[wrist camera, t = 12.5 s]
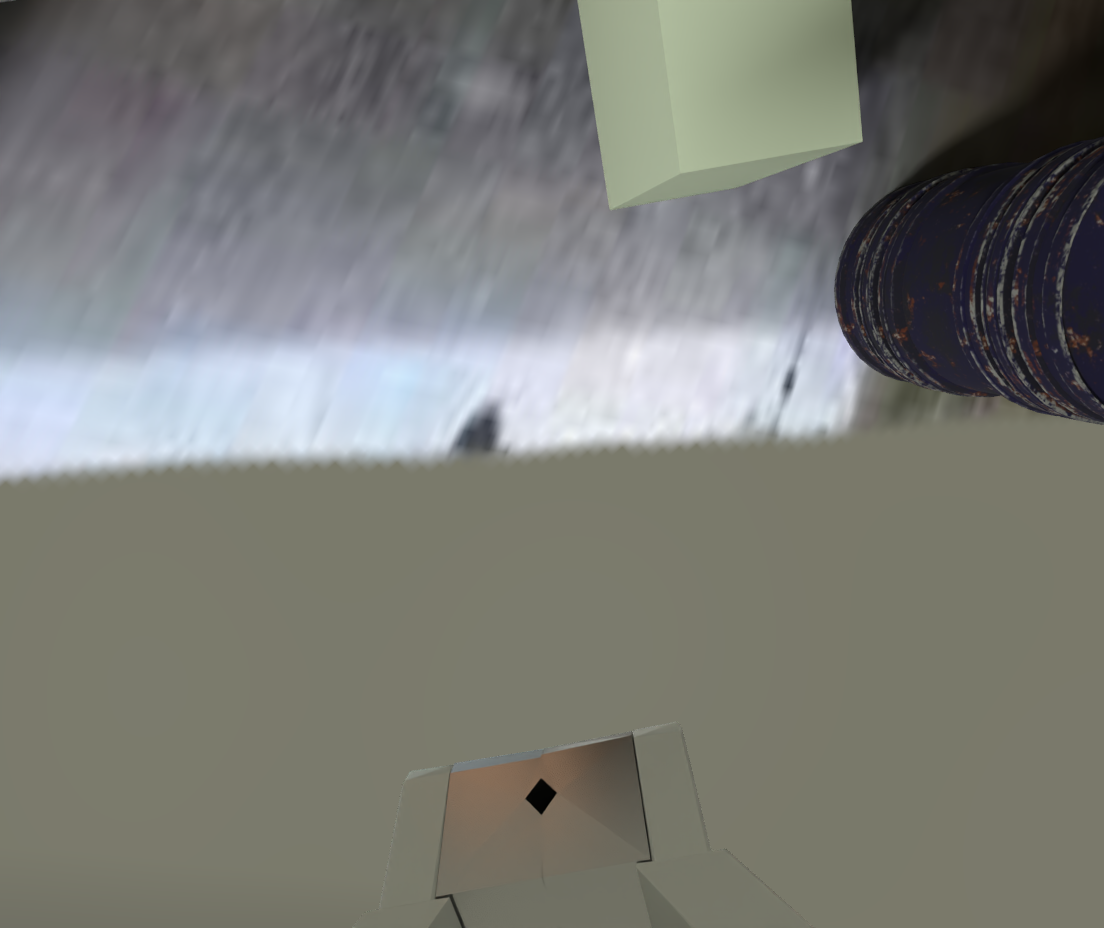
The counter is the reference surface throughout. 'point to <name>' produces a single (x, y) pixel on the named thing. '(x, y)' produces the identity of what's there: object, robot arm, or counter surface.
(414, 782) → the robot arm
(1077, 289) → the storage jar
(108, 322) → the counter surface
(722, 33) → the sage block
